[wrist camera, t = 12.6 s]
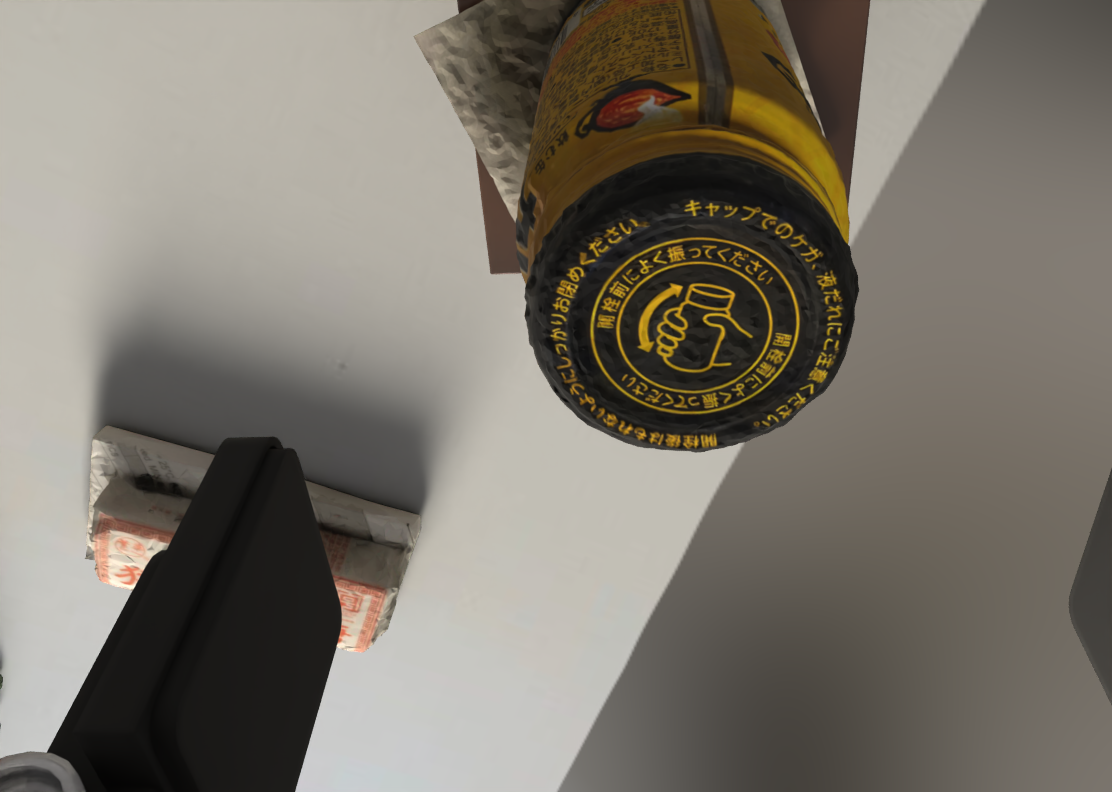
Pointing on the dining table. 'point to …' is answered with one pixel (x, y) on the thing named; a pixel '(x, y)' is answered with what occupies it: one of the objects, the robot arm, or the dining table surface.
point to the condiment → (661, 207)
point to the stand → (832, 75)
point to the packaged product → (167, 490)
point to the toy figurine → (0, 680)
